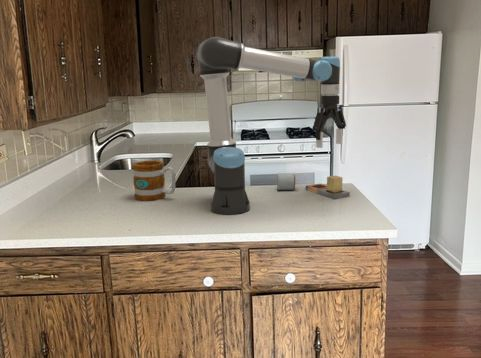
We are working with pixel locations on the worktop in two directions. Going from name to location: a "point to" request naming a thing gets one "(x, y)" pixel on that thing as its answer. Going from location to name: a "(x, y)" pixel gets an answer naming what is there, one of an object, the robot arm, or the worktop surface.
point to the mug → (151, 180)
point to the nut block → (334, 184)
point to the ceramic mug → (285, 181)
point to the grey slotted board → (322, 190)
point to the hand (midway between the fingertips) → (329, 145)
